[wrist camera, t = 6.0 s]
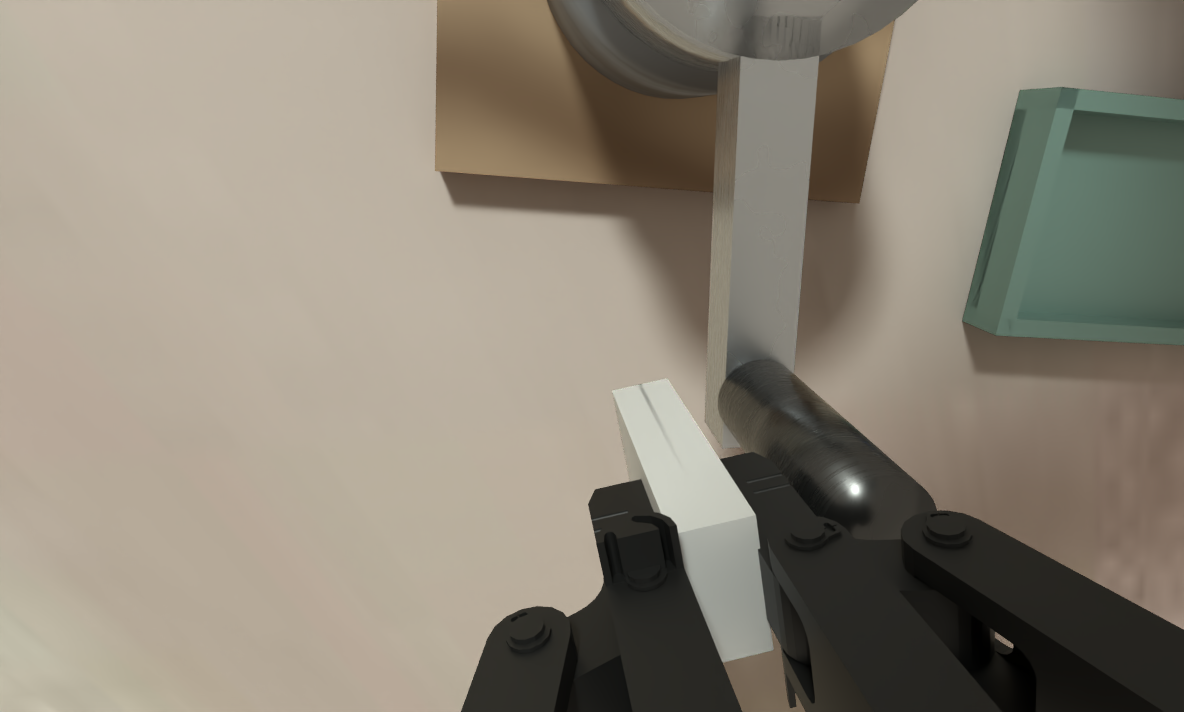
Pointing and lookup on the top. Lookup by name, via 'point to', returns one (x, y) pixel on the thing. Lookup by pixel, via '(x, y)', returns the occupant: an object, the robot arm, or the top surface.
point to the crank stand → (616, 101)
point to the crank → (774, 242)
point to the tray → (1086, 221)
